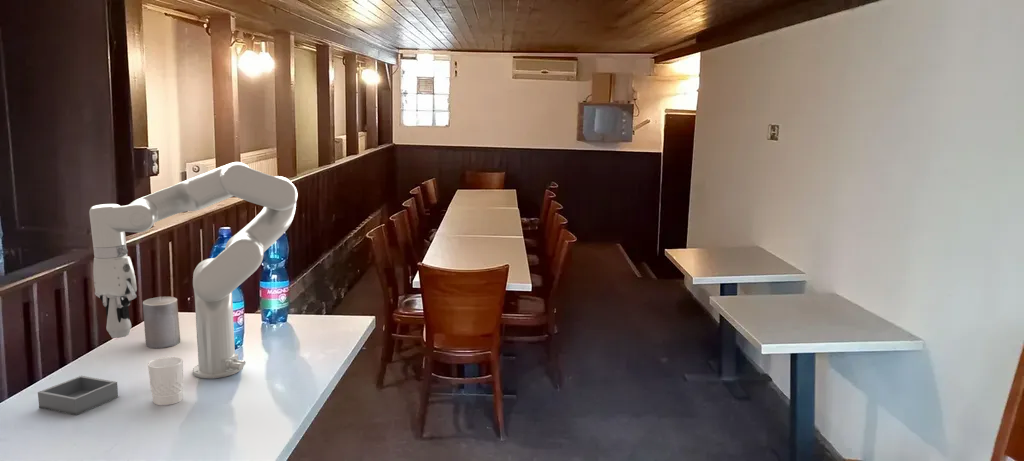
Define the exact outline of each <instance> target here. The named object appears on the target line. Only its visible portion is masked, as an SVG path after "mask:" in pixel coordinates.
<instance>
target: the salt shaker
mask: <svg viewBox="0 0 1024 461" xmlns="http://www.w3.org/2000/svg"><path fill="white" fill-rule="evenodd" d="M106 296H107V297H108V298H110V299H109V308H108V317H106V328H105V329H106V331H107V332H108V334H109V335H110V337H111V338H112V339H119V338H121V339H122V338H125V337H127V336H129V334H130V332H131V329H132V322H131V320H130V319H128V318H127V319H123V318H121V321H120V323H119V321H118V317H117V310H116V309H117V308H119V307H118V304H117V298H116V296H112V295H110V294H107V295H106ZM123 299H124V297H123V298H122V300H123Z"/></svg>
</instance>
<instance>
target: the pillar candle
mask: <svg viewBox="0 0 1024 461" xmlns="http://www.w3.org/2000/svg"><path fill="white" fill-rule="evenodd" d="M142 310H143V311H142V314H143V323H144V324H143V326H144V327H143V328H144V339H145V346H146V347H147V348H148V349H149V348H150V349H164V348H167V347H174V346H176V345H178V344H179V343H180V342H181V333H180V332H181V331H180V322H179V321H180V320H179V308H178V298H177V297H174V296H157V297H153V298H152V297H150V298H147V299H145V300H143V301H142Z"/></svg>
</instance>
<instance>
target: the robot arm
mask: <svg viewBox="0 0 1024 461" xmlns="http://www.w3.org/2000/svg"><path fill="white" fill-rule="evenodd" d="M232 197H235V198H238V199H241V200H243V201H246V202H249V203H252V204H255V205H259V206H262V207H263V208H262V209H261V211H260V212H259V213H258V214H257V215H256V216H255V217H254V218H253V219H252V220H251V221H250V222H249V223H247V224H246V225H245V226H244V227H243V228H241V229H240V230H239V231H237V233H235V234H234V235H233V236H231V237H230V238H229V239H228V240H227V242H226V244H225V247H224V249H223V250H222V251H221V252H220V253H219V254H218V255H217V256H216V257H211V258H210V257H209V258H206V259H203V260H202V261H200V262H199V263H198V264H197V265H196V267H195V269H194V270H193V273H192V274H193V275H192V277H193V278H192V287H193V293H194V306H195V307H194V309H195V311H194V312H195V327H196V343H197V344H196V345H197V346H196V347H197V359H198V363H197V364H196V365H195V366H193V368H192V375H193V376H195V377H197V378H199V379H200V378H201V379H221V378H225V377H230V376H233V375H235V374H238V373H239V372H240V371H243V369H244V368H245V365H246V361H245V360H243V359H239V354H238V353H236V350H235V348H236V347H235V328H234V327H235V326H234V304H233V291H235V290H236V289H237V288H238V287H239V286H240V285H242V284H243V283H244V282H245V281H246V280H248V278H250V277H251V275H253V274H254V273H255V272H256V271H257V270H258V269H259V267H260V266H261V264H262V263H263V260H264V253H265V252H266V251H267V250H268V249H269V248H270V247H272V246H273V244H275V243H276V242H277V240H279V239H280V238H281V237H282V236H283V235H284V234H285V233H286V231H287V230H288V229H289V227H291V225H292V222H293V220H294V219H295V218H294V217H295V214H296V209H297V208H296V207H297V200H298V190H297V187H296V186H295V184H294V183H292V181H291V180H290V179H288V178H287V177H286V176H285V177H284V176H281V175H280V176H279V175H277V176H276V175H275V176H274V175H272V174H271V175H270V174H268V173H266V172H265V173H264V172H263V171H260V170H256V169H254V168H252V167H249V166H248V164H246V163H243V162H241V161H234V162H230V163H227V164H225V165H221V166H219V167H216V168H214V169H212V170H209V171H207V172H205V173H201V174H198V175H197V176H194V177H193V176H192V177H191V178H188V179H186V180H183V181H180V182H178V183H176V184H173V185H171V186H168V187H165V188H163V189H160V190H157V191H155V192H153V193H150V194H148V195H145V196H142V197H140V198H137V199H135V200H133V201H132V202H130V203H129V204H126V205H120V204H117V203H103V204H102V203H101V204H95V205H93V206H91V207H90V209H89V221H90V228H91V229H90V232H91V238H92V247H93V255H94V258H93V266H92V267H93V272H92V273H93V274H92V276H93V285H94V286H93V288H94V295H95V296H96V297H97V298H99V299H100V301H101V302H102V305H103V306H104V307H105V316H106V318H107V317H108V308H109V299H110V298H108V297H107V296H106V295H107V294H110V295H112V296H116V298H117V304H118V307H119V308H117V309H116V310H117V317H118V321H119V323H120V321H121V318H123V319H127V318H128V319H130V318H131V317H130V311H129V306H130V305H131V302H132V300H135V299H136V298H138V297H137V290H138V287H137V280H136V278H137V277H136V275H135V274H136V273H135V270H134V265H133V262H132V258H131V256H128V253H129V250H128V247H127V246H128V245H127V238H126V233H144V232H147V231H149V230H150V229H151V228H153V226H154V225H155V223H157V222H159V221H162V220H164V219H166V218H170V217H173V216H175V215H177V214H180V213H185V212H196V211H200V210H203V209H205V208H208V207H211V206H213V205H216V204H217V203H220V202H222V201H225V200H227V199H231V198H232ZM122 298H123V300H122Z"/></svg>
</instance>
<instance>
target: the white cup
mask: <svg viewBox="0 0 1024 461" xmlns="http://www.w3.org/2000/svg"><path fill="white" fill-rule="evenodd" d="M147 368H148V369H147V370H148V376H149V383H150V391H151V395H152V402H153V404H154V405H157V406H170V405H173V404H177V403H179V402H181V401H183V398H184V397H183V396H184V393H183V389H184V360H183V358H181V357H178V356H165V357H160V358H156V359H153V360H150V361H149V362H148V364H147Z"/></svg>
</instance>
